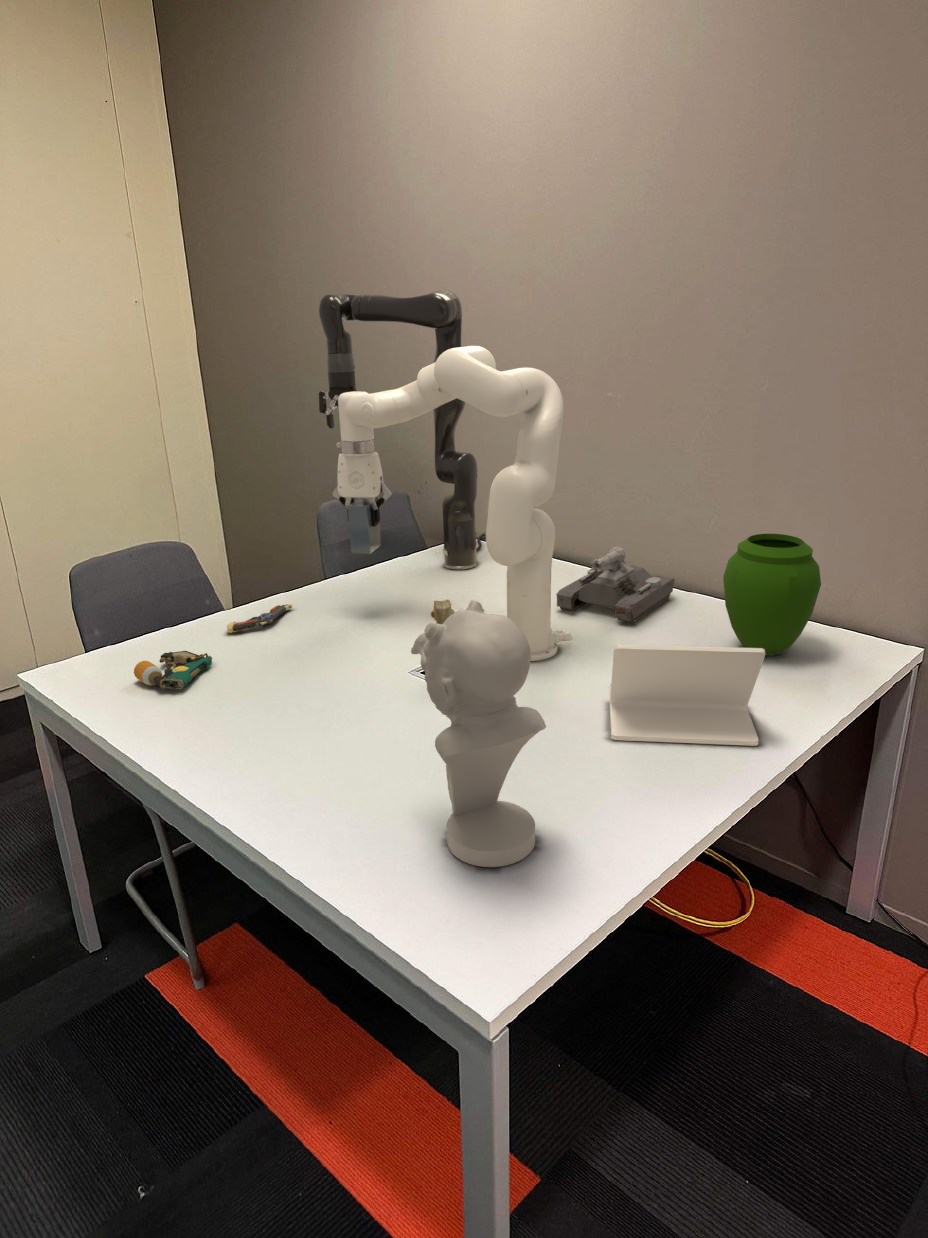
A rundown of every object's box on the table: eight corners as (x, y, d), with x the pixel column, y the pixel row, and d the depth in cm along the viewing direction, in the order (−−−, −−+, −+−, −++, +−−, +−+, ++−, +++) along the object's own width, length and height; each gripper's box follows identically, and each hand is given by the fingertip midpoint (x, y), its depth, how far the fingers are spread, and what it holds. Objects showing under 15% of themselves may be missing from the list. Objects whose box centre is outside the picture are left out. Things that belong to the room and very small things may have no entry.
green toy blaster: (177, 659, 191) (231, 671, 185) (120, 684, 176) (176, 698, 171) (176, 641, 190) (230, 653, 184) (118, 665, 175) (174, 678, 169)
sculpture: (458, 662, 183) (456, 596, 178) (460, 676, 176) (457, 608, 171) (431, 663, 183) (428, 597, 177) (431, 677, 176) (428, 609, 171)
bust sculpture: (481, 772, 140) (476, 569, 128) (565, 848, 120) (569, 617, 108) (392, 800, 134) (378, 588, 121) (465, 886, 114) (457, 642, 101)
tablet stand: (759, 746, 146) (769, 654, 140) (611, 740, 149) (614, 650, 143) (741, 699, 163) (749, 615, 157) (609, 695, 166) (611, 613, 160)
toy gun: (223, 625, 202) (262, 621, 199) (256, 603, 219) (292, 600, 217) (225, 635, 202) (264, 632, 200) (258, 613, 220) (294, 610, 218)
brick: (351, 553, 202) (347, 505, 198) (362, 544, 209) (359, 498, 205) (370, 553, 200) (366, 506, 196) (381, 545, 207) (377, 498, 203)
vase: (820, 642, 188) (834, 534, 179) (800, 674, 173) (814, 558, 164) (732, 626, 198) (741, 524, 189) (705, 656, 183) (714, 546, 174)
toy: (603, 584, 229) (605, 530, 224) (673, 597, 218) (677, 540, 213) (555, 612, 210) (556, 553, 205) (630, 627, 199) (633, 566, 194)
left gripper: (312, 371, 238) (317, 430, 244) (360, 370, 235) (364, 430, 241) (322, 368, 245) (327, 426, 251) (369, 368, 242) (373, 426, 248)
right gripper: (317, 449, 195) (324, 527, 201) (387, 450, 190) (393, 529, 197) (330, 444, 201) (337, 520, 208) (398, 445, 197) (403, 521, 204)
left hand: (345, 428), depth 246 cm, fingers open, 8 cm apart
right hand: (364, 523), depth 202 cm, fingers closed on brick, 4 cm apart
